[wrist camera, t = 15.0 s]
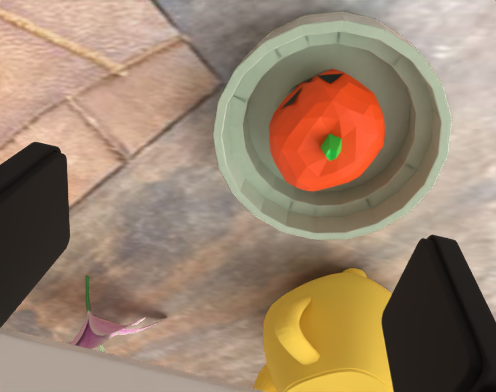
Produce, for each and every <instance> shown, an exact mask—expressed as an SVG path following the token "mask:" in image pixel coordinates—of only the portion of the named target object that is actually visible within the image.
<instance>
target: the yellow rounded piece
mask: <svg viewBox="0 0 496 392" xmlns="http://www.w3.org/2000/svg"><path fill="white" fill-rule="evenodd" d="M391 295H392V293H391V292H389V291H388V290H387V289H385V288H384V287H382V286H381V285H379V284H378V283H376V282H374V281H373V280H371V279H369V278H367V276H366V274H365V273H364V272H363V271H362V270H360V269H357V268H349V269H346V270H344V271H343V272H342V273H336V274H331V275H327V276H324V277H321V278H317V279H315V280H312V281H309V282H307V283H305V284H303V285H301V286H299V287H297V288H295V289H293V290H291V291H290V292H288V293H286V294H285V295H284V296H282V297H281V298H279V299H278V300H277V301H275V302H274V304H273V305H272V306H271V307H270V309H269V310H268V312H267V314H266V316H265V319H264V326H263V343H264V352H265V356H266V361H267V363H266V364H265V366H264V367H263V368H262V370H261V371H260V373H259V375H258V377H257V379H256V382H255V385H254V389H258V390H262V391H266V392H394V391H393V386H392V380H391V375H390V369H389V363H388V358H387V352H386V347H385V341H384V336H383V330H382V323H381V321H382V314H383V311H384V309H385V307H386V305H387V303H388V301H389V299H390V297H391Z"/></svg>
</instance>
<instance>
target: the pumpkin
mask: <svg viewBox="0 0 496 392" xmlns="http://www.w3.org/2000/svg"><path fill="white" fill-rule="evenodd" d="M330 69H331V68H330ZM327 70H328V69H327ZM324 71H326V70H324ZM322 72H323V71H322ZM320 73H321V72H320ZM318 74H319V73H318ZM295 87H296V88H295ZM294 88H295V89H294ZM293 89H294V90H293ZM292 90H293V91H292ZM291 91H292V92H291ZM289 92H291V93H290V94H289V95H288V96H287V97H286V98H285V99H284V100H283V102H282V103H281V104H280V106H279V107H278V108H277V110H276V111H275V112H274V114H273V117H272V119H271V122H270V124H269V134H270V136H269V140H270V153H271V155H272V157H273V160H274V162H275V164H276V166H277V167H278V169H279V171H280V173H281V174H282V176H283V178H284V179H285V181H286V182H287V183H289V184H291V185H293V186H295V187H296V188H298V189H302V190H306V191H318V190H322V189H326V188H330V187H334V186H337V185H341V184H344V183H348V182H350V181H352V180H354V179H356V178H358V177H360V176H361V174H362V173H363V172H364V171H365V170H366V169H367V168H368V166H369V165H370V164H371V163H372V162H373V160H374V159H375V157H376V156H377V154H378V153H379V151H380V150H381V149H382V147H383V146H384V138H385V122H384V117H383V113H382V109H381V107H380V105H379V103H378V101H377V98H376V96H375V94H374V93H373V92H372V91H371V90H369V89H368V88H367V87H365V86H364V85H363V84H362V83H360V82H359V81H357V80H356V79H354V78H353V77H351V76H349V75H348V74H346V73H344V72H342V71H339V70H336V69H331V70H328V71H326V72H324V73H321V74H319V75H315V76H314V77H312V78H310V79H309V78H308V80H307V79H306V80H305V81H303V82H301V83H299V84H298V85H296V86H294V87H293V88H292V89H291V90H290V91H289ZM289 92H288V93H289Z"/></svg>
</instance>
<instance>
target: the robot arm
mask: <svg viewBox="0 0 496 392" xmlns="http://www.w3.org/2000/svg"><path fill="white" fill-rule="evenodd" d="M69 239H70V226H69V203H68V179H67V159H66V156H65V155H64V154H62V153H61V151H60V149H59V148H58V147H56V146H52V145H48V144H43V143H39V142H33V143H31V144H30V145H28V146H27V147H25V148H24V149H23V150H21V151H20V152H18V153H17V154H15V155H14V156H12V157H11V158H10V159H8V160H7V161H5V162H4V163H2V164H1V165H0V392H266V391H262V390H258V389H254V388H250V387H245V386H241V385H237V384H233V383H229V382H225V381H221V380H217V379H213V378H209V377H204V376H200V375H196V374H192V373H188V372H184V371H180V370H176V369H172V368H167V367H163V366H159V365H155V364H151V363H147V362H143V361H138V360H134V359H130V358H126V357H122V356H118V355H114V354H109V353H105V352H101V351H97V350H93V349H88V348H84V347H80V346H76V345H71V344H67V343H63V342H59V341H55V340H50V339H46V338H42V337H38V336H34V335H29V334H25V333H21V332H17V331H12V330H8V329H4V328H1V327H2V325H3V324H4V323H5V322H6V321H7V319H8V318H9V317H10V316H11V314H12V313H13V312H14V311H15V310H16V308H17V307H18V306H19V305H20V304H21V302H22V301H23V300H24V299H25V298H26V296H27V295H28V294H29V293H30V291H31V290H32V289H33V288H34V287H35V285H36V284H37V283H38V282H39V281H40V279H41V278H42V277H43V276H44V275H45V273H46V272H47V271H48V270H49V268H50V267H51V266H52V265H53V264H54V262H55V261H56V260H57V259H58V258H59V256H60V255H61V254H62V253H63V252H64V250H65V249H66V247H67V245H68V243H69ZM381 323H382V330H383V336H384V341H385V347H386V352H387V358H388V363H389V369H390V375H391V380H392V386H393V391H394V392H496V322H495V320H494V318H493V315H492V313H491V311H490V309H489V307H488V305H487V303H486V301H485V299H484V297H483V295H482V293H481V291H480V289H479V287H478V285H477V283H476V281H475V278H474V276H473V274H472V272H471V270H470V268H469V266H468V264H467V262H466V260H465V258H464V256H463V254H462V252H461V250H460V248H459V246H458V244H457V242H456V241H455V240H453V239H448V238H444V237H440V236H436V235H430V236H429V237H428V238H427V239H424V238H423V239H421V240H420V241H419V242H418V244H417V246H416V248H415V250H414V252H413V254H412V256H411V258H410V260H409V262H408V264H407V266H406V268H405V270H404V272H403V274H402V276H401V278H400V280H399V282H398V283H397V285H396V287H395V289H394V291H393V293H392V295H391V297H390V299H389V301H388V303H387V305H386V307H385V309H384V311H383V314H382V321H381Z"/></svg>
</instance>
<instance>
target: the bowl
mask: <svg viewBox="0 0 496 392" xmlns="http://www.w3.org/2000/svg"><path fill="white" fill-rule="evenodd" d="M330 68H331V69H336V70H339V71H342V72H344V73H346V74H348V75H349V76H351V77H353V78H354V79H356V80H357V81H359V82H360V83H362V84H363V85H364V86H365V87H367V88H368V89H369V90H371V91H372V92H373V93H374V94H375V96H376V98H377V101H378V103H379V105H380V107H381V109H382V113H383V117H384V122H385V138H384V146H383V147H382V149H381V150H380V151H379V153H378V154H377V156H376V157H375V159H374V160H373V162H372V163H371V164H370V165H369V166H368V168H367V169H366V170H365V171H364V172H363V173H362V174H361V176H360V177H358V178H356V179H354V180H352V181H350V182H348V183H344V184H341V185H337V186H334V187H330V188H326V189H322V190H318V191H306V190H302V189H298V188H296V187H295V186H293V185H291V184H289V183H287V182H286V181H285V179H284V178H283V176H282V174H281V173H280V171H279V169H278V167H277V166H276V164H275V162H274V160H273V157H272V155H271V153H270V140H269V136H270V134H269V124H270V122H271V119H272V117H273V114H274V112H275V111H276V110H277V108H278V107H279V106H280V104H281V103H282V102H283V100H284V99H285V98H286V97H287V96H288V95H289V94H290V93H291V92H292V91H293V90H294V89H295V88H296V87H295V88H294V89H293V90H292V91H291V92H289V91H290V90H291V89H292V88H293V87H294V86H296V85H298V84H299V83H301V82H303V81H305V80H306V79H307V80H308V78H309V79H310V78H312V77H314V76H315V75H319V74H321V73H324V72H326V71H328V70H331V69H330ZM327 69H328V70H327ZM324 70H326V71H324ZM322 71H323V72H322ZM320 72H321V73H320ZM318 73H319V74H318ZM288 92H289V93H288ZM451 124H452V117H451V113H450V109H449V105H448V101H447V98H446V94H445V90H444V86H443V83H442V81H441V80H440V79H439V77H438V76H437V74H436V73H435V72H434V70H433V69H432V68H431V66H430V65H429V63H428V62H427V61H426V59H425V58H424V57H423V55H422V54H421V53H420V51H418V50H417V49H416V48H415V47H414V46H413V45H412V44H411V43H410V42H409V41H408V40H407V39H406V38H405V37H403V36H402V35H400V34H398V33H397V32H395V31H394V30H392V29H391V28H389V27H388V26H386V25H385V24H383V23H381V22H380V21H378V20H376V19H373V18H369V17H364V16H360V15H356V14H351V13H347V12H342V11H341V12H340V11H337V12H329V13H320V14H312V15H305V16H301V17H299V18H297V19H295V20H293V21H291V22H289V23H287V24H284V25H282V26H280V27H278V28H276V29H274V30H272V31H271V32H269V33H268V34H267V35H266V36H265V37H264V38H263V39H262V40H261V41H260V42H259V43H258V44H257V45H256V46H255V47H254V48H253V49H251V50H250V51H249V52H248V53H247V54H246V56H245V57H244V58H243V59H242V61H241V62H240V63H239V65H238V66H237V67H236V69H235V70H234V72H233V74H232V76H231V78H230V79H229V81H228V83H227V85H226V87H225V89H224V91H223V93H222V95H221V96H220V98H219V101H218V105H217V111H216V117H215V124H214V130H213V139H214V145H215V151H216V156H217V162H218V167H219V169H220V171H221V173H222V175H223V177H224V179H225V181H226V182H227V184H228V186H229V188H230V190H231V192H232V194H233V195H234V196H235V197H236V198H237V199H238V200H239V201H240V202H241V203H242V204H243V205H244V206H245V207H246V208H247V209H248V210H249V211H250V212H251V213H252V214H253V215H254V216H256V218H258V219H260V220H262V221H263V222H265V223H267V224H269V225H271V226H272V227H274V228H276V229H278V230H280V231H281V232H284V233H288V234H292V235H296V236H300V237H304V238H308V239H312V240H334V239H350V238H354V237H357V236H361V235H365V234H368V233H372V232H375V231H379V230H381V229H382V228H384V227H386V226H387V225H389V224H391V223H392V222H394V221H396V220H397V219H399V218H401V217H403V216H404V215H406V214H408V212H410V211H411V210H412V209H413V208H414V207H415V206H416V205H417V204H418V202H419V201H420V200H421V199H422V198H423V197H424V196H425V195H426V194H427V193H428V192H429V191H430V190H431V189H432V187H433V186H434V184H435V181H436V179H437V177H438V175H439V173H440V171H441V169H442V167H443V165H444V163H445V161H446V159H447V156H448V152H449V143H450V134H451Z"/></svg>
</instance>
